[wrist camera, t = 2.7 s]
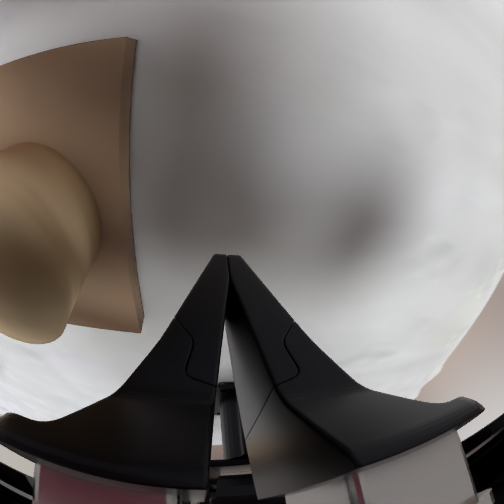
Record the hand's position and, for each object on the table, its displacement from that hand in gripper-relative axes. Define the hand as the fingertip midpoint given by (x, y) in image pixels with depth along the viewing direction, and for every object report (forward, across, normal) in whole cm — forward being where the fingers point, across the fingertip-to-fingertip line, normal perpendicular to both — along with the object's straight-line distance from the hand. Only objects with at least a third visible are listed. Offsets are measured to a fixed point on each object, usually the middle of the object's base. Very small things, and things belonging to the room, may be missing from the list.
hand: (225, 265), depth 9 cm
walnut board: (+3, +15, 0) cm, 15 cm away
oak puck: (+2, +8, 0) cm, 9 cm away
